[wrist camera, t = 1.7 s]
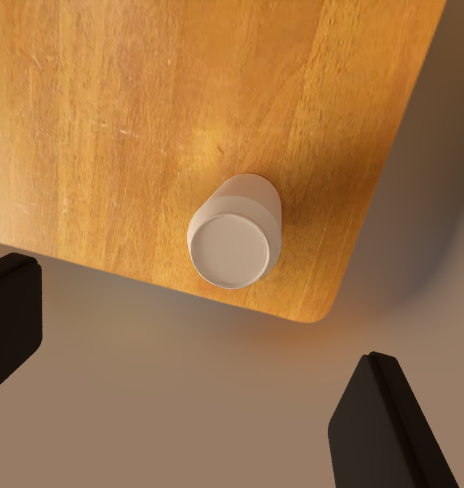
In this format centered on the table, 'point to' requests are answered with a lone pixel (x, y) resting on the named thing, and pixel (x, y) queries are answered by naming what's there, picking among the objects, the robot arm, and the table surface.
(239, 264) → the beverage can
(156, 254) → the table surface
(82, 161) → the table surface
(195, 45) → the table surface
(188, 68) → the table surface
